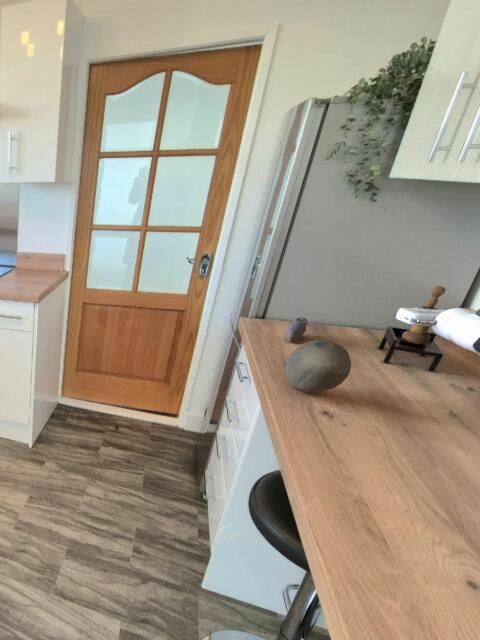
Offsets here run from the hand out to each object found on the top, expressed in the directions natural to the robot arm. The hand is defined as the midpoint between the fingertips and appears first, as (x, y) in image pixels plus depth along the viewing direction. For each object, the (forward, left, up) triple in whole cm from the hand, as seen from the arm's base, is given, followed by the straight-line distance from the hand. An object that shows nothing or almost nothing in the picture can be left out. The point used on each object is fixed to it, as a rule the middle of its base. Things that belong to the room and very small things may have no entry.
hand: (426, 310), depth 136 cm
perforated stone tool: (+31, +1, -17) cm, 35 cm away
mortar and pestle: (0, +1, -10) cm, 10 cm away
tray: (0, +1, -16) cm, 17 cm away
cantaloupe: (+26, +49, -17) cm, 58 cm away
